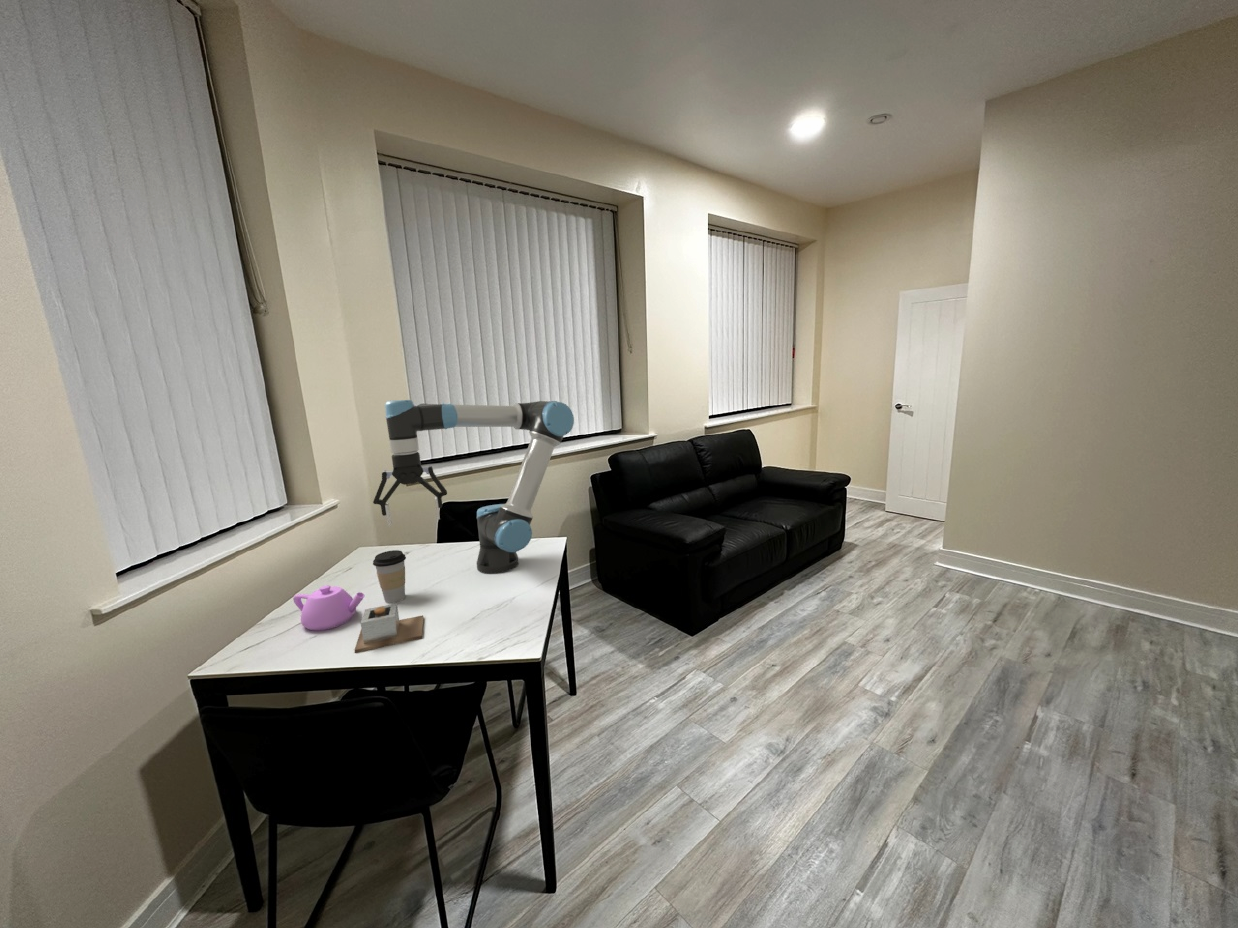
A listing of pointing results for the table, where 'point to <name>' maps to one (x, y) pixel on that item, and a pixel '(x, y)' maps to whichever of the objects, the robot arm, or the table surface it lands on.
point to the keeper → (406, 632)
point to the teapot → (327, 607)
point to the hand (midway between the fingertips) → (414, 521)
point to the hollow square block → (380, 624)
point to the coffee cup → (391, 575)
